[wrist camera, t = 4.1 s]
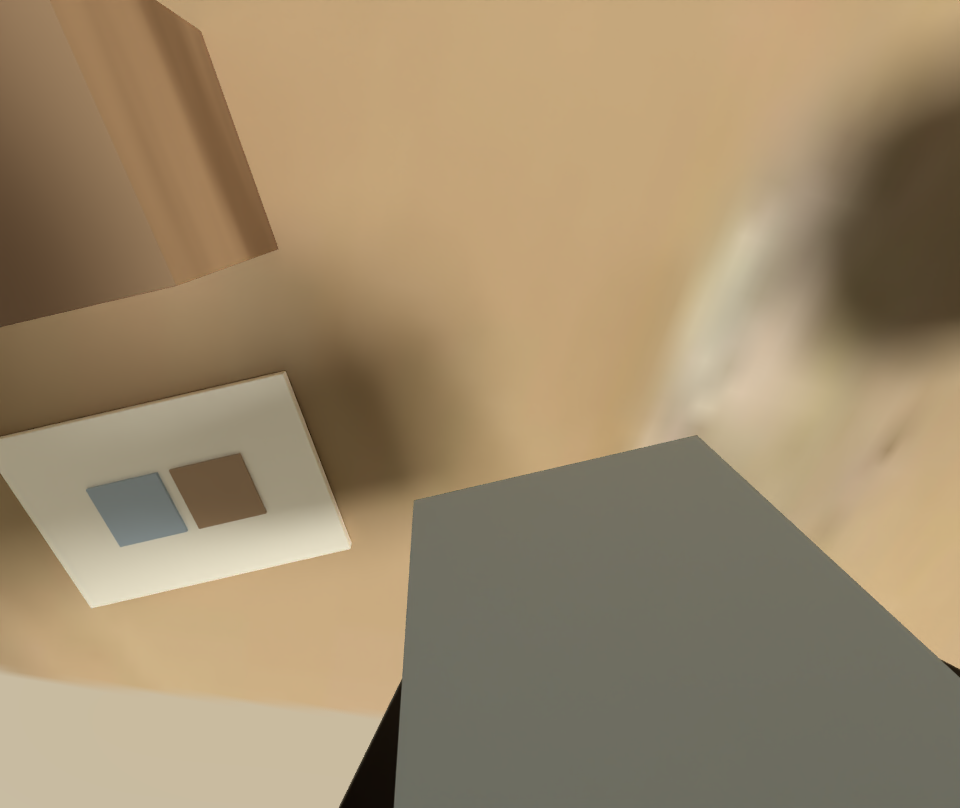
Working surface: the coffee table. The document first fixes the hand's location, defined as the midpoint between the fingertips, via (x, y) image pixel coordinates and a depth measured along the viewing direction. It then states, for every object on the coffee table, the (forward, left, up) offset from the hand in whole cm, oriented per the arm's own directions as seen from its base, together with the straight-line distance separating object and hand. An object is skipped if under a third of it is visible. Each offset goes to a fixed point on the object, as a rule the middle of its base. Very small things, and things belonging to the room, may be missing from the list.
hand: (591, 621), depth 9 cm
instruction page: (+11, 0, -8) cm, 14 cm away
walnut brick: (+8, -9, -8) cm, 15 cm away
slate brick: (0, 0, -1) cm, 1 cm away
